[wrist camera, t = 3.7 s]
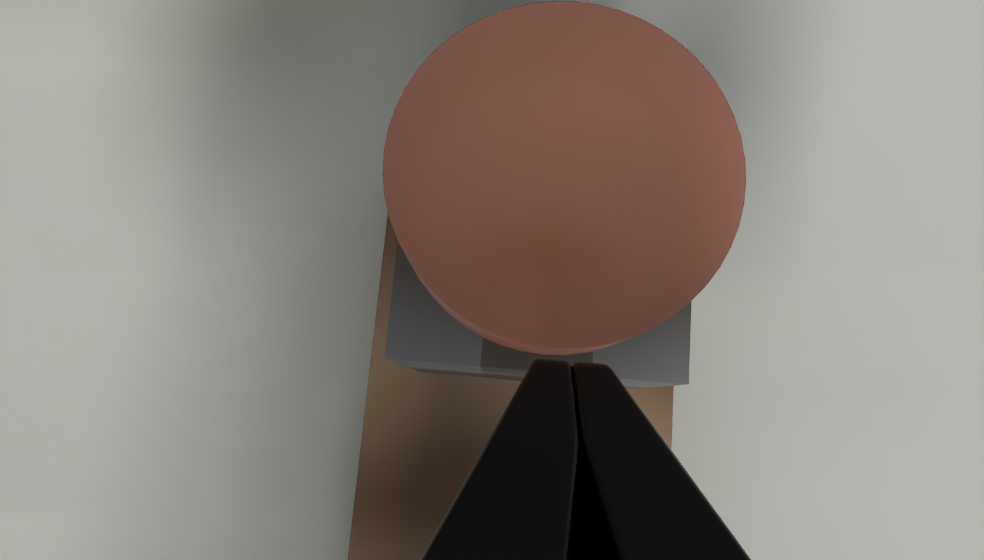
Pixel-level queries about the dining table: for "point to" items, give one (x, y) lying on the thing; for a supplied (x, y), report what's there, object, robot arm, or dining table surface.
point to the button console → (462, 405)
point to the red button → (563, 176)
